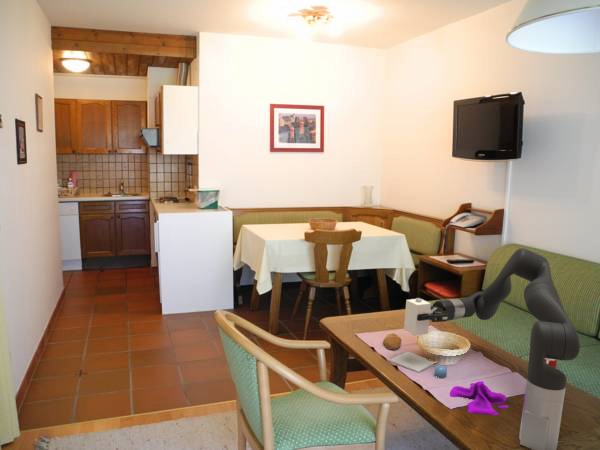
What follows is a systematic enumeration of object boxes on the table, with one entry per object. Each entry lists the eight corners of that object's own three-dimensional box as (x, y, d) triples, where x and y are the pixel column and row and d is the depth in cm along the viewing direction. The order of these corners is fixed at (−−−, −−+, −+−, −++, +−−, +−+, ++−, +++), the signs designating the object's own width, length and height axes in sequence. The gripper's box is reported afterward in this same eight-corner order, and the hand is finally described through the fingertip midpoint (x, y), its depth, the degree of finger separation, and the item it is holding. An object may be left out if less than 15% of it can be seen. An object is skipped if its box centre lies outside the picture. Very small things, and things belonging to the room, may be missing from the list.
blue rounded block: (442, 379, 173) (443, 371, 172) (432, 375, 175) (432, 367, 175) (448, 376, 175) (449, 367, 175) (437, 372, 178) (438, 363, 178)
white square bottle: (428, 333, 182) (431, 300, 180) (414, 335, 179) (417, 302, 177) (417, 327, 187) (420, 295, 185) (403, 329, 185) (406, 297, 183)
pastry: (401, 352, 194) (401, 342, 194) (382, 350, 195) (383, 340, 195) (400, 343, 203) (401, 333, 203) (383, 341, 204) (384, 331, 204)
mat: (418, 372, 177) (418, 371, 176) (389, 361, 185) (389, 360, 185) (436, 363, 185) (436, 362, 185) (407, 352, 193) (407, 351, 193)
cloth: (481, 422, 148) (484, 402, 147) (435, 393, 164) (437, 375, 163) (532, 406, 158) (535, 388, 157) (485, 381, 174) (487, 364, 173)
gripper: (436, 294, 194) (400, 298, 187) (464, 306, 181) (426, 310, 174) (434, 313, 195) (398, 318, 188) (461, 326, 183) (424, 332, 175)
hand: (412, 314), depth 181 cm, fingers closed on white square bottle, 6 cm apart
